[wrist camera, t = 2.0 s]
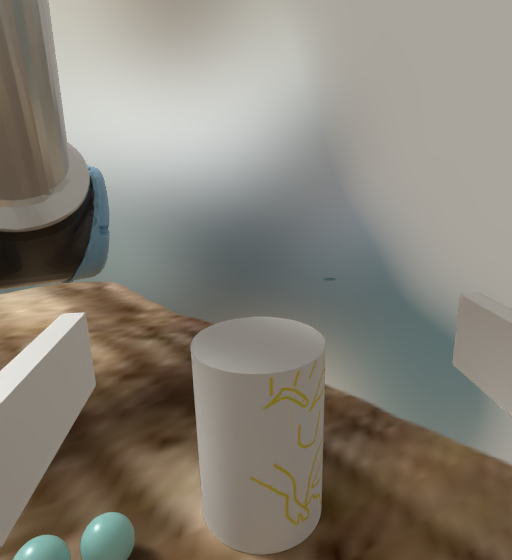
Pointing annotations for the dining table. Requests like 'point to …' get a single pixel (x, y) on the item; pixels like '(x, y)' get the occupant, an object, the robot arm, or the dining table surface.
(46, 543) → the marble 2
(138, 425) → the dining table surface
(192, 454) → the dining table surface
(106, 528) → the marble
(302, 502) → the cup
